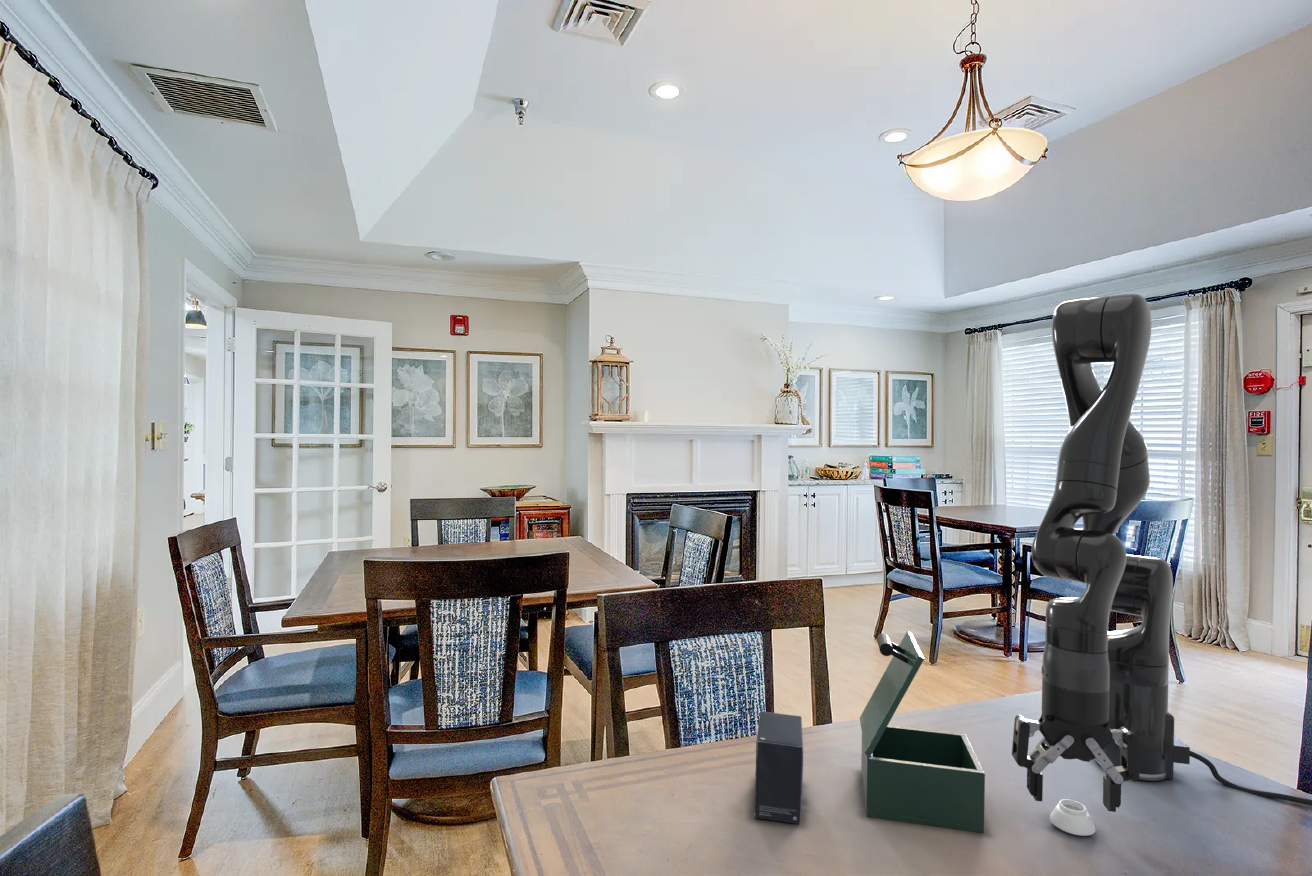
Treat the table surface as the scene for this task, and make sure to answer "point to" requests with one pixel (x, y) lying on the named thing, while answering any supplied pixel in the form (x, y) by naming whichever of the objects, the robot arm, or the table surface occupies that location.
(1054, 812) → the white jar
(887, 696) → the bin lid
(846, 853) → the table surface
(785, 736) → the small box
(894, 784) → the waste bin
